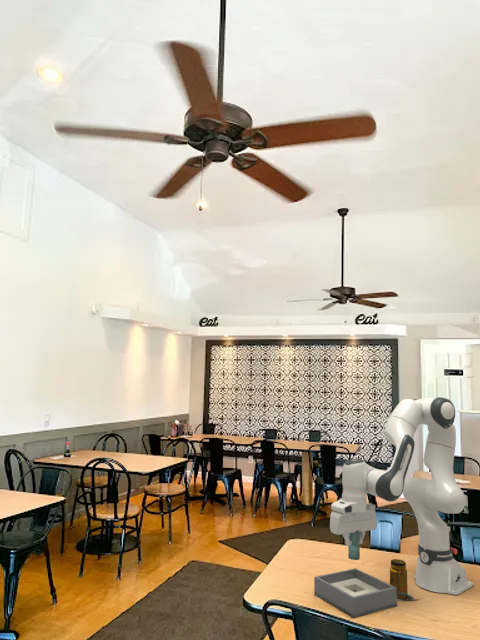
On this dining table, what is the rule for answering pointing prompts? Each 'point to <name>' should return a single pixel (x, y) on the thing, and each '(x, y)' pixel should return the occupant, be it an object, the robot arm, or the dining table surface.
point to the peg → (354, 546)
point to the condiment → (400, 579)
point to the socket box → (355, 592)
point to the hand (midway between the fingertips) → (354, 544)
